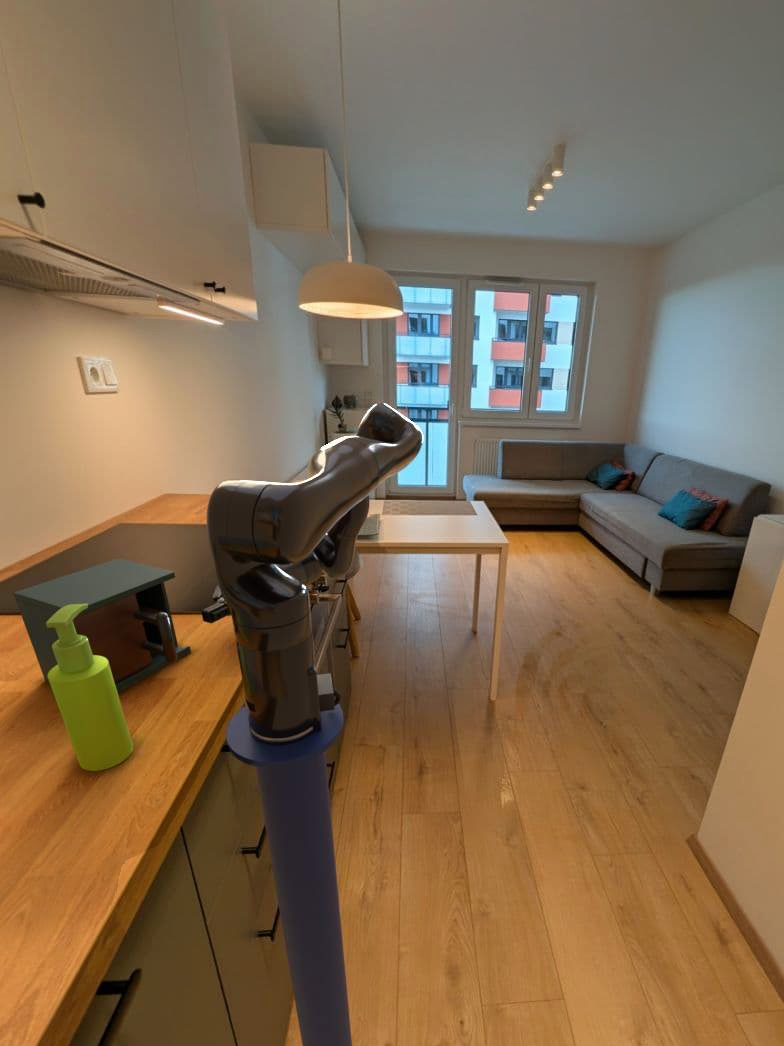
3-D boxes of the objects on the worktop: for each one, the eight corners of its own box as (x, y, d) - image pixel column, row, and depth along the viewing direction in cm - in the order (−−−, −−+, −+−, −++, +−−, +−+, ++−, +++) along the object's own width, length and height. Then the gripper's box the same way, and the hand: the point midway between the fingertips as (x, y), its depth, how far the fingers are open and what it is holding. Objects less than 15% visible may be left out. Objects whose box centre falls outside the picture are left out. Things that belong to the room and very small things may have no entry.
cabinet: (191, 652, 88) (174, 571, 81) (101, 702, 74) (72, 611, 68) (138, 635, 92) (118, 558, 86) (44, 680, 79) (12, 592, 72)
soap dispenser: (143, 732, 69) (105, 599, 60) (122, 768, 63) (77, 626, 54) (95, 735, 68) (50, 601, 59) (69, 773, 62) (15, 629, 53)
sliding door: (183, 673, 80) (167, 600, 75) (122, 710, 72) (98, 630, 66) (148, 661, 83) (129, 590, 78) (85, 695, 74) (59, 618, 69)
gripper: (307, 605, 97) (239, 646, 82) (253, 592, 102) (180, 628, 87) (303, 569, 94) (232, 605, 79) (248, 557, 98) (171, 589, 84)
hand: (205, 617), depth 83 cm, fingers closed
